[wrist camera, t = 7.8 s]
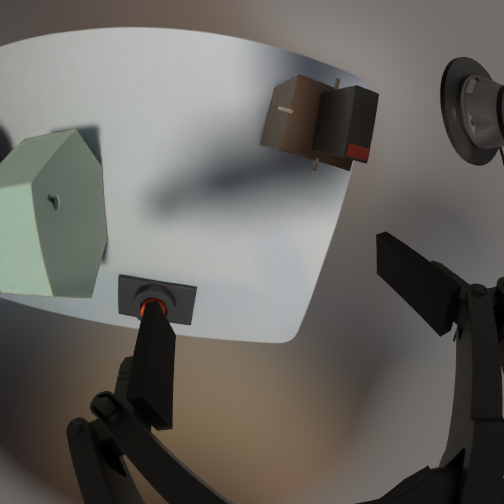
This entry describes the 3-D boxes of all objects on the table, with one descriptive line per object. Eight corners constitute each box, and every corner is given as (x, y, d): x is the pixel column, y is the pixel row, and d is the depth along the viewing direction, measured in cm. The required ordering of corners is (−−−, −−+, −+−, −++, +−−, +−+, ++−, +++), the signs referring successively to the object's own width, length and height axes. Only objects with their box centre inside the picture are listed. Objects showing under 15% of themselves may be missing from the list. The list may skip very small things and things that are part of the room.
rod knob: (321, 92, 24) (357, 84, 17) (341, 98, 24) (381, 93, 18) (311, 149, 26) (345, 158, 19) (331, 154, 26) (368, 164, 20)
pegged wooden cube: (338, 102, 33) (379, 97, 24) (320, 169, 37) (356, 184, 28) (268, 78, 31) (291, 61, 22) (249, 150, 35) (265, 158, 26)
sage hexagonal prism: (70, 185, 36) (0, 114, 16) (113, 182, 37) (57, 97, 17) (61, 296, 34) (-37, 289, 13) (106, 298, 35) (19, 295, 15)
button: (166, 299, 39) (165, 306, 38) (164, 319, 41) (163, 325, 39) (142, 296, 39) (141, 301, 37) (142, 315, 40) (140, 321, 38)
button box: (196, 286, 42) (196, 296, 39) (190, 322, 44) (190, 332, 42) (119, 274, 39) (115, 282, 37) (119, 311, 41) (115, 320, 39)
